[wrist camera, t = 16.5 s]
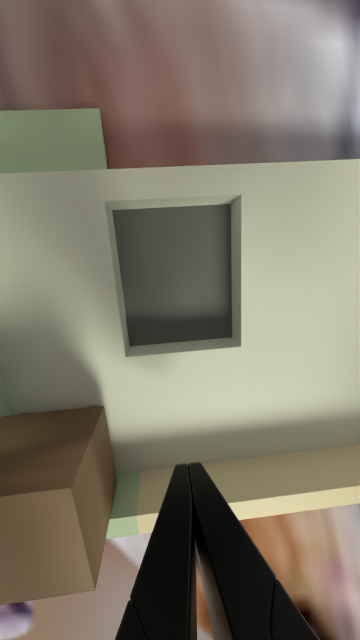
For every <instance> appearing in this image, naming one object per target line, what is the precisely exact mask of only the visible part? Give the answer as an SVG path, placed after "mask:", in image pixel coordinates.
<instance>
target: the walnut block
mask: <svg viewBox="0 0 360 640" xmlns="http://www.w3.org/2000/svg"><path fill="white" fill-rule="evenodd" d="M116 486H117V477H116V471H115V466H114V460H113V454H112V448H111V442H110V436H109V430H108V425H107V419H106V413H105V407H104V406H89V407H87V408H78V409H68V410H59V411H49V412H39V413H21V414H19V415H11V416H3V417H2V418H1V419H0V605H4V604H11V603H17V602H24V601H30V600H37V599H42V598H50V597H56V596H63V595H68V594H75V593H82V592H88V591H94V590H95V588H96V583H97V579H98V574H99V568H100V564H101V559H102V554H103V549H104V545H105V540H106V535H107V530H108V525H109V520H110V515H111V510H112V506H113V501H114V496H115V491H116Z"/></svg>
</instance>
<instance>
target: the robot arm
mask: <svg viewBox="0 0 360 640" xmlns="http://www.w3.org/2000/svg"><path fill="white" fill-rule="evenodd" d="M195 543H196V548H195ZM196 550H197V556H198V562H199V567H200V572H201V577H202V582H203V587H204V592H205V597H206V602H207V607H208V612H209V617H210V622H211V628H212V633H213V638H214V640H320V639H319V638H318V637H317V635H316V634H315V633H314V631H313V630H312V629H311V627H310V626H309V624H308V623H307V621H306V620H305V618H304V617H303V616H302V614H301V613H300V611H299V610H298V608H297V607H296V605H295V604H294V603H293V601H292V600H291V598H290V597H289V595H288V594H287V592H286V591H285V589H284V588H283V586H282V585H281V583H280V581H279V580H278V579H276V576H275V574H274V573H273V571H272V570H271V568H270V567H269V565H268V564H267V562H266V561H265V559H264V557H263V556H262V554H261V553H260V551H259V550H258V548H257V547H256V545H255V544H254V542H253V541H252V539H251V538H250V536H249V535H248V533H247V532H246V530H245V529H244V527H243V526H242V524H241V523H240V521H239V520H238V518H237V517H236V515H235V514H234V512H233V510H232V509H231V507H230V506H229V504H228V503H227V501H226V500H225V498H224V497H223V495H222V494H221V492H220V491H219V489H218V488H217V486H216V485H215V483H214V482H213V480H212V479H211V477H210V476H209V474H208V473H207V471H206V470H205V468H204V467H203V465H202V464H201V462H190V463H189V464H187V463H181V464H176V465H175V467H174V470H173V473H172V476H171V479H170V482H169V484H168V487H167V490H166V493H165V496H164V499H163V502H162V505H161V508H160V511H159V514H158V517H157V519H156V522H155V525H154V528H153V531H152V534H151V537H150V540H149V543H148V546H147V549H146V552H145V554H144V557H143V560H142V563H141V566H140V569H139V572H138V575H137V578H136V581H135V584H134V587H133V589H132V593H131V595H130V599H131V600H130V601H128V604H127V607H126V609H125V612H124V615H123V619H122V621H121V624H120V627H119V629H118V632H117V635H116V638H115V640H197V600H196Z"/></svg>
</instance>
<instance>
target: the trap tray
mask: <svg viewBox="0 0 360 640" xmlns="http://www.w3.org/2000/svg"><path fill="white" fill-rule="evenodd" d="M89 406H104V407H105V413H106V419H107V425H108V430H109V436H110V442H111V448H112V454H113V460H114V466H115V471H116V477H117V486H116V491H115V496H114V501H113V506H112V510H111V515H110V520H109V525H108V530H107V535H106V539H108V538H115V537H122V536H129V535H136V534H143V533H150V532H152V531H153V528H154V525H155V522H156V519H157V517H158V514H159V511H160V508H161V505H162V502H163V499H164V496H165V493H166V490H167V487H168V484H169V482H170V479H171V476H172V473H173V470H174V467H175V465H176V464H181V463H187V464H189V463H190V462H201V464H202V465H203V467H204V468H205V470H206V471H207V473H208V474H209V476H210V477H211V479H212V480H213V482H214V483H215V485H216V486H217V488H218V489H219V491H220V492H221V494H222V495H223V497H224V498H225V500H226V501H227V503H228V504H229V506H230V507H231V509H232V510H233V512H234V514H235V515H236V517H237V518H238V520H243V519H250V518H258V517H265V516H272V515H279V514H286V513H293V512H300V511H307V510H315V509H322V508H329V507H336V506H343V505H350V504H357V503H360V159H347V160H323V161H298V162H273V163H249V164H224V165H200V166H175V167H151V168H126V169H108V166H107V159H106V151H105V143H104V135H103V127H102V119H101V112H100V109H99V108H93V109H52V110H10V111H0V419H1V418H2V417H3V416H11V415H19V414H21V413H39V412H49V411H59V410H68V409H78V408H87V407H89Z"/></svg>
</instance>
